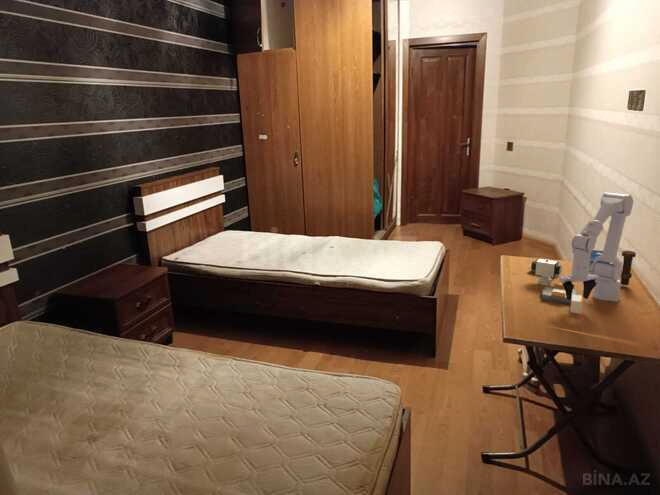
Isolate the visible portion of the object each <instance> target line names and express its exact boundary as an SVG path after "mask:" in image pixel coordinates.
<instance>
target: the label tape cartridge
mask: <svg viewBox="0 0 660 495" xmlns="http://www.w3.org/2000/svg"><path fill="white" fill-rule="evenodd" d="M599 253H600V254H599ZM601 254H603V250H598V249H597V250H595V249H593V250H592V251H591V256H590V264H589V272H588V274H589V275H593V274H592V272H591V267H592V265H593V263H594V260H595V258H596V257H598V256H600V255H601ZM602 262H605V261H602ZM605 263H609V262H605Z"/></svg>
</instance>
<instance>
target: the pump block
mask: <svg viewBox="0 0 660 495" xmlns="http://www.w3.org/2000/svg"><path fill="white" fill-rule="evenodd" d="M582 304H583V294H582V295H581V294H576V295H573V294H572V298H571V304H570V313H574V314H579V315H580V314H582V307H583V306H582Z"/></svg>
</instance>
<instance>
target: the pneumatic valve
mask: <svg viewBox="0 0 660 495" xmlns="http://www.w3.org/2000/svg"><path fill="white" fill-rule="evenodd" d="M530 267H531V269H530V270H531V271H532V272H533V275H536V276H540V277H538V280H537V282H538V284H539V285H541V286H545V285H546V286H550V285H552V283H553V279H555V278H556V277H557V276H560V275H561V273H562V270H563V269H562V265H560V262H559V261H556V260H550V259H548V258H546V259H543V258H537V259H536V260H535V261H532V263H531V266H530ZM552 278H553V279H552Z"/></svg>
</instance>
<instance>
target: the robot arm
mask: <svg viewBox="0 0 660 495" xmlns="http://www.w3.org/2000/svg"><path fill="white" fill-rule="evenodd" d="M633 205H634V198H633V196H632V195H631V194H624V193H623V194H622V193H613V192H609V191H608V192H607V191H606V192H604V193H603V194H602V195H601V198H600V207H599V209H598V211H597V213H596V214H595V216H594V218H593V219H591V220H589V221H588V222H587V223H586V225H585V226H584V227H583V229H582V230H581V231H580V233H579V234H576V235H574V237H572V241H571V248H572V250H571V252H572V254H573V257H572V264H571V265H572V268H571V274H568V275H563V276H560V277H559V282H560V284H563V286H564V289H565V292H566V298H567V299H568V300H571V298H572V291H573V289H575V284H573V283H574V282H583V283H582V285H583V291H582V298H583V299H585V300H588V299H589V297H590V295H591V292H592V291H593V293H592V297H593V298H594V299H597V300H601V301H610V302H619V299H620V298H621V297H620V296H621V292H620V291H621V285H622V284H621V277H620V276H621V274H622V268H623V261H622V260H620V259H619V257H617V254H618V252H619V246H620V242H621V239H622V234H623V230H624V226H625V222H626V218H627V217H629V216H631V213H632V210H633V207H634V206H633ZM609 218H610V220H609V225H608V230H607V234H606V238H605V243H604V246H603V250H602V251H603V253H601V254H600V256H598V257H596V258H595V260H594V263H593V265H592V267H591V272H592V274H593V275H589V274H588V272H589V264H590V256H591V251H592V250H595V247H596V243H597V238H598V237H599V235H601V233H602V231H603V230H604V223H605V222H606V221H607V220H608V219H609ZM602 261H605V262H609V263H605V262H602ZM619 279H620V280H619Z"/></svg>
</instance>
